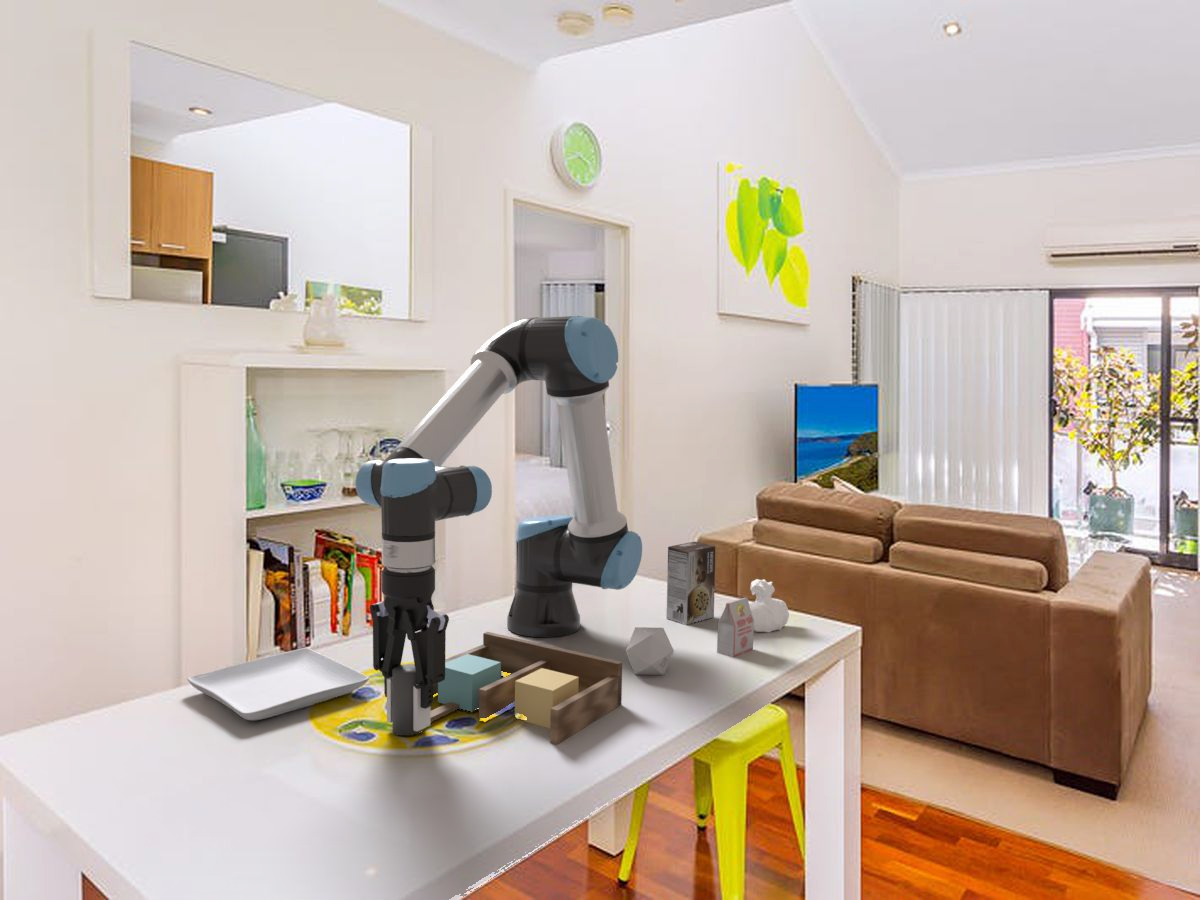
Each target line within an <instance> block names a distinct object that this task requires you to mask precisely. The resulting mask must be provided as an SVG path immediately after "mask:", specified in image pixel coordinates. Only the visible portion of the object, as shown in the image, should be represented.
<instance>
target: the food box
mask: <svg viewBox="0 0 1200 900" xmlns="http://www.w3.org/2000/svg"><path fill="white" fill-rule="evenodd" d="M715 573H716V546H715V545H710V544H707V543H705V542H699V541H691V542H685V543H678V544H675V545H670V546H667V580H666V581H667V583H666V584H667V585H666V586H667V587H666V588H667V590H666V615H665V616H666V620H669V619H670V620H669V621H672V620H674V621H673V622H675V621H677V622H676V623H679V622H680V623H679V624H682V623H684V624H683V625H685V624H689V625H692V624H695V623H694V622H696V623H698V621H699V622H702V621H705V619H706V620H709V619H711V618H712V619H713V618H714V617H715V585H716V584H715V582H716V578H715V577H716V575H715ZM701 620H702V621H701ZM691 623H692V624H691Z"/></svg>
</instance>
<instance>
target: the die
mask: <svg viewBox="0 0 1200 900" xmlns="http://www.w3.org/2000/svg"><path fill="white" fill-rule="evenodd" d="M674 652H675V649H674V648H673V646H672V644H671V642H670V640H669V637H668V635H667V633H666V631H665V629H664V627H643V626H642V627H638V626H636V627H634V630H633V632H632V634H631V637H630V639H629V642H628V644H627V647H626V649H625V653H626V656H627V658H628V660H629V661H628V662H629V663H630V665H631V668H632V671H633V673H634V675H635V676H636V675H638V676H640V675H641V676H643V675H644V676H646V675H647V676H648V675H649V676H651V675H652V676H665V673H666V670H667V668H668V665H669V663H670V661H671V659H672V656H673V654H674Z"/></svg>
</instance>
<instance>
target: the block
mask: <svg viewBox="0 0 1200 900" xmlns="http://www.w3.org/2000/svg"><path fill="white" fill-rule="evenodd" d="M578 685H579V677H577V676H573V675H568V674H564V673H560V672H556V671H552V670H548V669H543V668H541V669H539V670H537V671H535V672H533V673H531V674H529V675H526V676H524V677H522V678H520V679H518V680H516V681H515V708H514V714H515V713H519V714H523V715H524V716H526V717H527V720H526V722H527V723H529V724H534V725H535V726H540V727H544V728H547V729H550V717H551V708H552V707H554V706H556V705H558V704H560V703H562V702H563V701H565V700H567V699H569V698H571V697H572V696H574V695H576V694H578Z"/></svg>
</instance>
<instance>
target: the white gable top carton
mask: <svg viewBox="0 0 1200 900" xmlns="http://www.w3.org/2000/svg"><path fill="white" fill-rule="evenodd" d="M749 605H750V603H749V598H748V597H743V598H740V599H736V600H733V601H729V602H727V603H726V604H725V607H724V609H723V612H722V614H721V615H720V617H719V620H718V622H717V641H716V642H717V643H716V653H717V654H720V655H724V656H727V657H731V658H734V657H737V656H740V655H743V654H745V653H748V652H750V651H752V649H753V650H754V632H755V631H754V618H753V615H752V612H751V609H750V606H749ZM747 651H748V652H747ZM742 653H743V654H742Z"/></svg>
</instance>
